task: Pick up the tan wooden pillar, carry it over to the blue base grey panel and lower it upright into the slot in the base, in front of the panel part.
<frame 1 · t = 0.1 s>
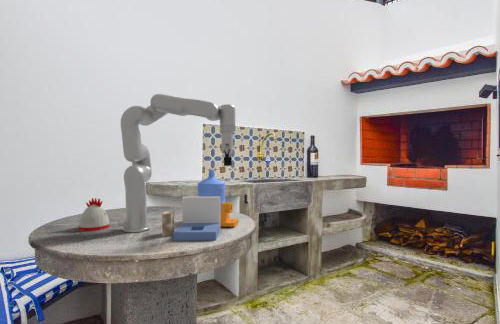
hand: (227, 165, 150), 31 cm above the table, tool pointing down, fingers open, 9 cm apart
bracket: (229, 226, 159), on the table
kitchen timer: (94, 228, 155), on the table
blue base grey panel: (198, 234, 141), on the table
tan wooden pillar: (168, 234, 141), on the table
water jug: (211, 220, 174), on the table
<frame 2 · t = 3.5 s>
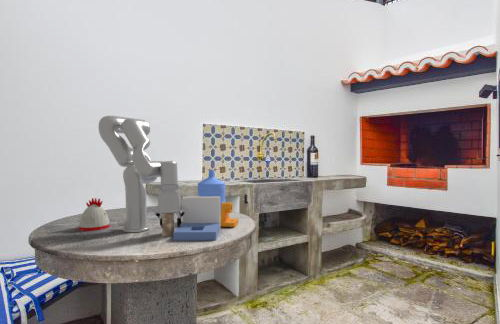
hand: (170, 226, 141), 4 cm above the table, tool pointing down, fingers open, 6 cm apart
nothing on the table moved.
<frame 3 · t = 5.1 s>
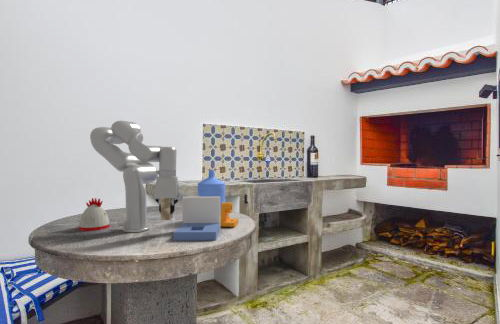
hand: (166, 212, 142), 10 cm above the table, tool pointing down, fingers closed on tan wooden pillar, 4 cm apart
tan wooden pillar: (166, 218, 142), point 7 cm above the table, touching gripper
everything else where it was.
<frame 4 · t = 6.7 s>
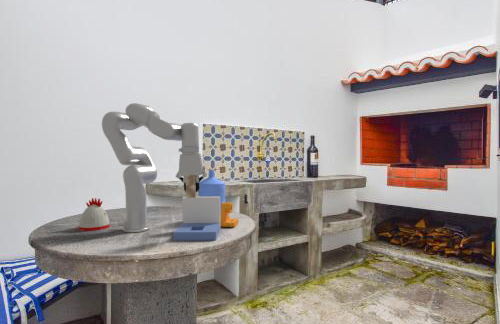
hand: (191, 191, 138), 20 cm above the table, tool pointing down, fingers closed on tan wooden pillar, 4 cm apart
tan wooden pillar: (192, 196, 138), point 18 cm above the table, touching gripper
everything else where it was.
when the fingers open (4 cm above the table, at t = 9.7 s): tan wooden pillar drops 2 cm, resting in blue base grey panel.
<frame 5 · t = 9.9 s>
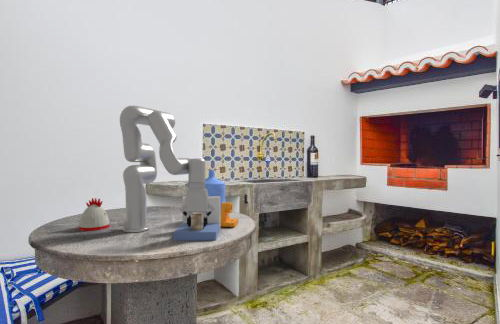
hand: (197, 225, 137), 5 cm above the table, tool pointing down, fingers open, 6 cm apart
tan wooden pillar: (197, 236, 138), resting in blue base grey panel
everything else where it was.
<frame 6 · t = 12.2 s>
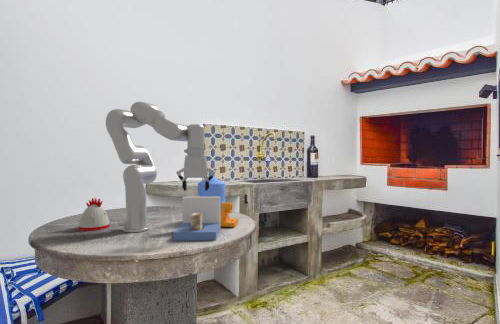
hand: (195, 190, 138), 20 cm above the table, tool pointing down, fingers open, 9 cm apart
nothing on the table moved.
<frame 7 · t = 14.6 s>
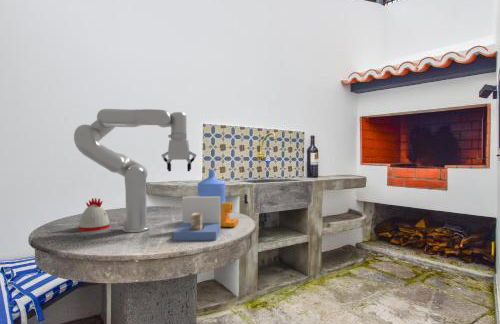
hand: (179, 171, 155), 28 cm above the table, tool pointing down, fingers open, 9 cm apart
nothing on the table moved.
at the end: tan wooden pillar 0.2 cm from the target spot on the blue base grey panel, point 0.0 cm above the blue base grey panel's base; tan wooden pillar tilted 0°; the gripper is holding nothing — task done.
